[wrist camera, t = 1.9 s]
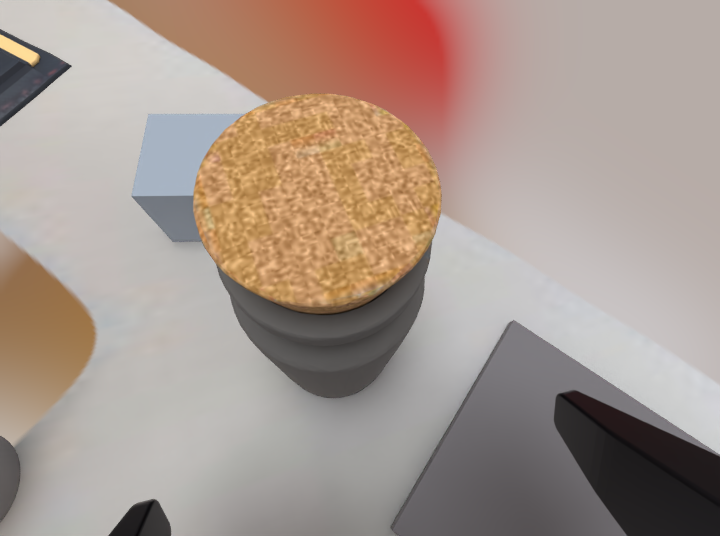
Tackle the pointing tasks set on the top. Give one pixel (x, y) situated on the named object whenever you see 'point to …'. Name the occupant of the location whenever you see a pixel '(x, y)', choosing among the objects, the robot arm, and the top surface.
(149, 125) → the slate cube
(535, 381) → the mat
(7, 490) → the charcoal cylinder
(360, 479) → the top surface
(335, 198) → the bottle
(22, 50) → the wallet
